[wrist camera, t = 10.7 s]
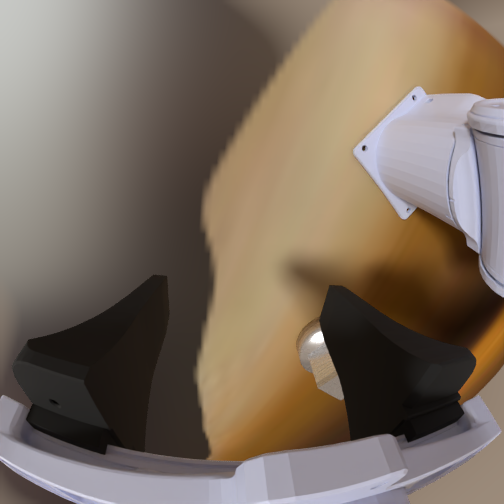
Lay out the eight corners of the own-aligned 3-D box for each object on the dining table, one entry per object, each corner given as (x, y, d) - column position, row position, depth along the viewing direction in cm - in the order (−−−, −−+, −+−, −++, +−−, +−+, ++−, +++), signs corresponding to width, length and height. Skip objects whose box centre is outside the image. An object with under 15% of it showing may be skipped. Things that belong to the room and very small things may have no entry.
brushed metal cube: (360, 347, 25) (375, 377, 21) (329, 369, 26) (340, 400, 22) (340, 330, 23) (356, 362, 20) (307, 354, 24) (317, 388, 21)
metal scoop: (282, 344, 26) (289, 375, 22) (335, 300, 24) (351, 328, 21) (365, 392, 32) (375, 414, 28) (404, 363, 30) (417, 384, 27)
